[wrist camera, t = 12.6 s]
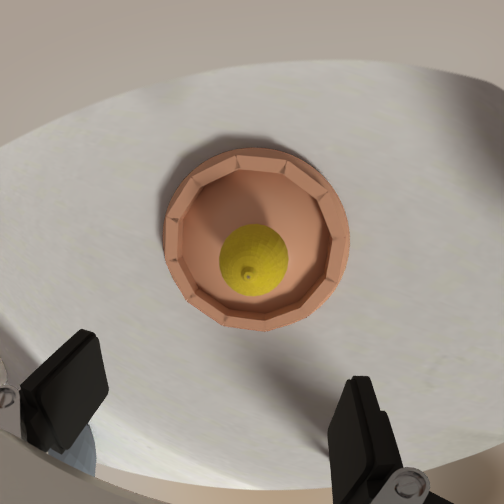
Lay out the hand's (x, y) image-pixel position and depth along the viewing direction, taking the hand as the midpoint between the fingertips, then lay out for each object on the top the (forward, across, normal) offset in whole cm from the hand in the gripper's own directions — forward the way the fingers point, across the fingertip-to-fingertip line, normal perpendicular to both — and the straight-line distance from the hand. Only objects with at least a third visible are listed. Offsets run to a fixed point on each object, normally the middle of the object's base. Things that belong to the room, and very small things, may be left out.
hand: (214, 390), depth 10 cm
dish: (+20, 0, 0) cm, 20 cm away
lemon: (+20, 0, 0) cm, 20 cm away
